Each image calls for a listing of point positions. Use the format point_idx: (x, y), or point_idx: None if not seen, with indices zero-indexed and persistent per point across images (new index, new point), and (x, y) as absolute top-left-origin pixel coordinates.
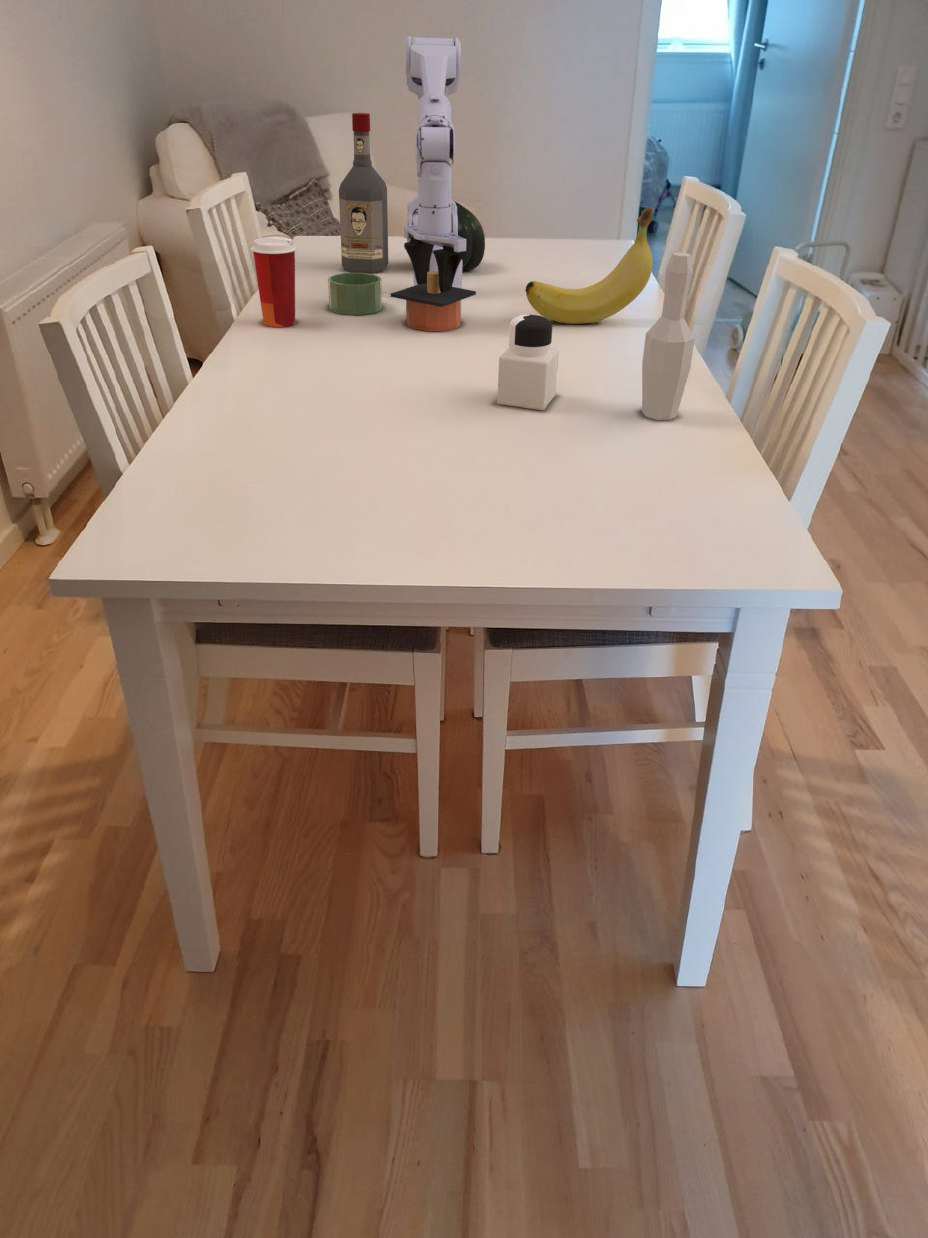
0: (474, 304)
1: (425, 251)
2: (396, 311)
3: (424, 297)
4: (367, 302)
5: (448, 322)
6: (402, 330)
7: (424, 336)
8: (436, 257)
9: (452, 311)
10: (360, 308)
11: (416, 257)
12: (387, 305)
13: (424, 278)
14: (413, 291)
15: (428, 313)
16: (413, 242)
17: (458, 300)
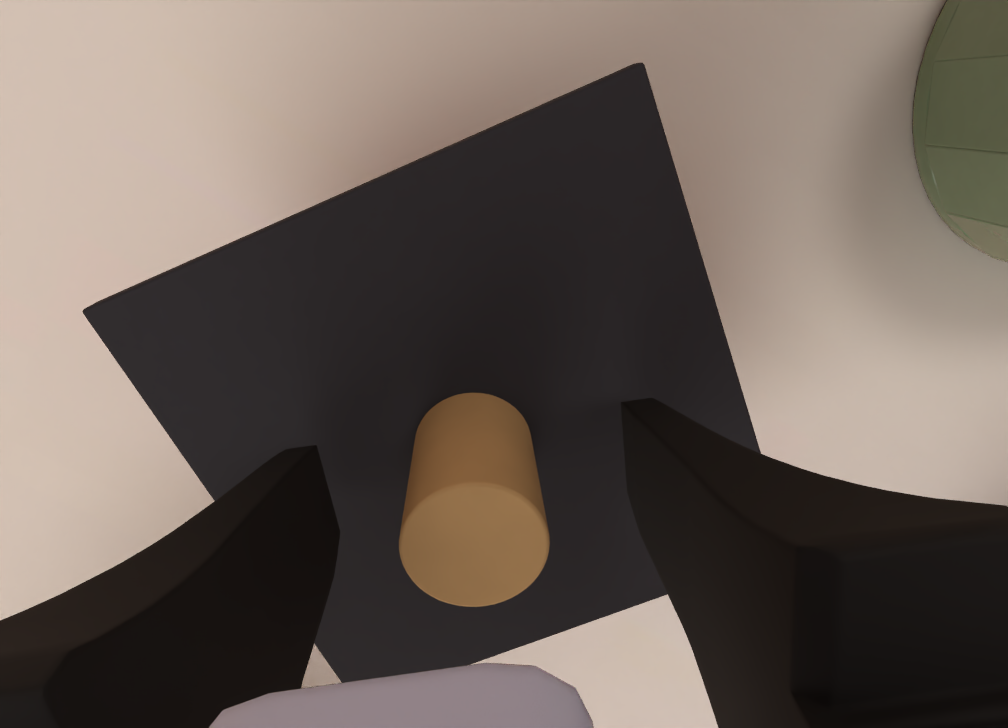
0: (681, 704)
1: (739, 709)
2: (840, 290)
3: (345, 284)
4: (976, 64)
5: None
6: (435, 79)
7: (236, 142)
8: (90, 624)
9: None
10: (973, 2)
11: (719, 531)
12: (987, 311)
13: (632, 481)
14: (587, 308)
15: None
16: (951, 699)
17: None
